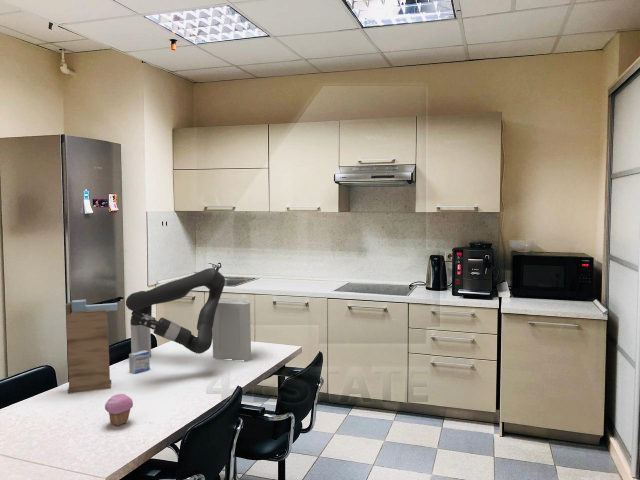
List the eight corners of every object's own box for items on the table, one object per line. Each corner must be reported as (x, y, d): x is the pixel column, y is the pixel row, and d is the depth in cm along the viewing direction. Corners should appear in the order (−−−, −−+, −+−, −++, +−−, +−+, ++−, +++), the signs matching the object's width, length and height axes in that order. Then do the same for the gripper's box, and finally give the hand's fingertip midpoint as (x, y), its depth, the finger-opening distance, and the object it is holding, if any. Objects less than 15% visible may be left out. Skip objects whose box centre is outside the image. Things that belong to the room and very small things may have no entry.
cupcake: (125, 416, 178) (124, 388, 178) (138, 422, 173) (137, 394, 172) (100, 424, 171) (99, 395, 171) (113, 431, 166) (112, 401, 165)
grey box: (260, 353, 255) (259, 298, 254) (247, 361, 241) (246, 304, 240) (226, 350, 261) (225, 297, 260) (212, 358, 247) (210, 302, 245)
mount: (69, 387, 208) (66, 302, 205) (111, 382, 213) (108, 299, 211) (67, 393, 201) (64, 305, 199) (110, 388, 207) (107, 302, 204)
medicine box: (134, 374, 224) (134, 355, 224) (129, 372, 227) (128, 353, 227) (150, 369, 231) (149, 351, 230) (144, 367, 233) (143, 349, 233)
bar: (73, 311, 206) (72, 300, 205) (117, 308, 211) (117, 297, 211) (71, 314, 201) (71, 302, 201) (117, 310, 207) (116, 299, 207)
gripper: (170, 318, 224) (136, 303, 218) (172, 325, 210) (136, 308, 205) (162, 333, 223) (127, 318, 217) (163, 341, 209) (127, 325, 204)
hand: (132, 313), depth 211 cm, fingers open, 8 cm apart
